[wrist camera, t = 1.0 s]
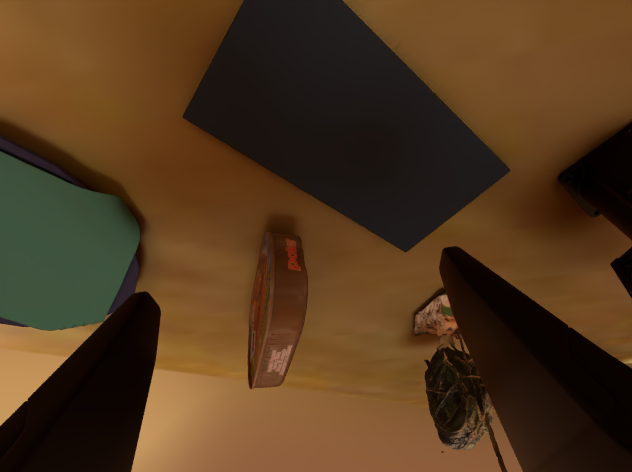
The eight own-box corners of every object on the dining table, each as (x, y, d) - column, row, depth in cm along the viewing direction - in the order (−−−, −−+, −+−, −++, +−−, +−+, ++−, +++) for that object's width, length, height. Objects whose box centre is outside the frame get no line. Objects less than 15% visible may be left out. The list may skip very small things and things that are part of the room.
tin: (268, 207, 25) (263, 298, 18) (308, 214, 25) (317, 303, 19) (247, 321, 34) (239, 406, 28) (277, 323, 35) (276, 406, 29)
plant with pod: (383, 337, 39) (445, 584, 24) (448, 278, 32) (589, 568, 17) (435, 348, 41) (521, 575, 27) (505, 296, 35) (669, 559, 20)
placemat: (507, 167, 24) (510, 170, 24) (404, 248, 29) (406, 252, 28) (278, -64, 15) (278, -64, 14) (183, 114, 20) (182, 117, 19)
